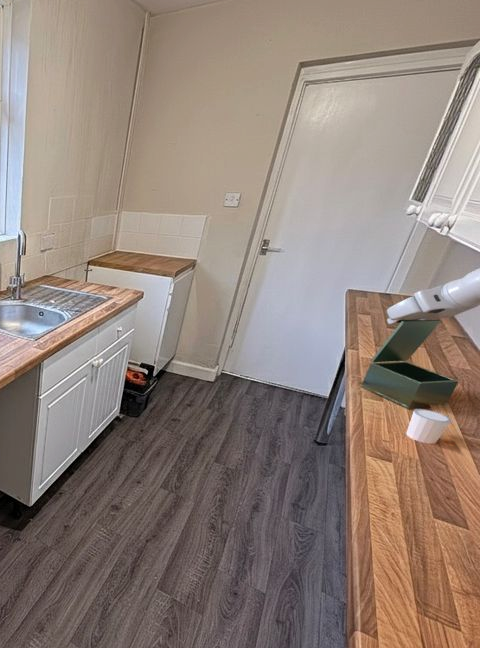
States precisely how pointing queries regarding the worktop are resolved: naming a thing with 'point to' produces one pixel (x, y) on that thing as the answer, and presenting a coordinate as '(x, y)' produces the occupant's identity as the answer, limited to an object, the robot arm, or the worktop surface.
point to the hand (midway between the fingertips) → (399, 321)
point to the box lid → (405, 340)
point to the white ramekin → (427, 426)
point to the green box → (408, 384)
